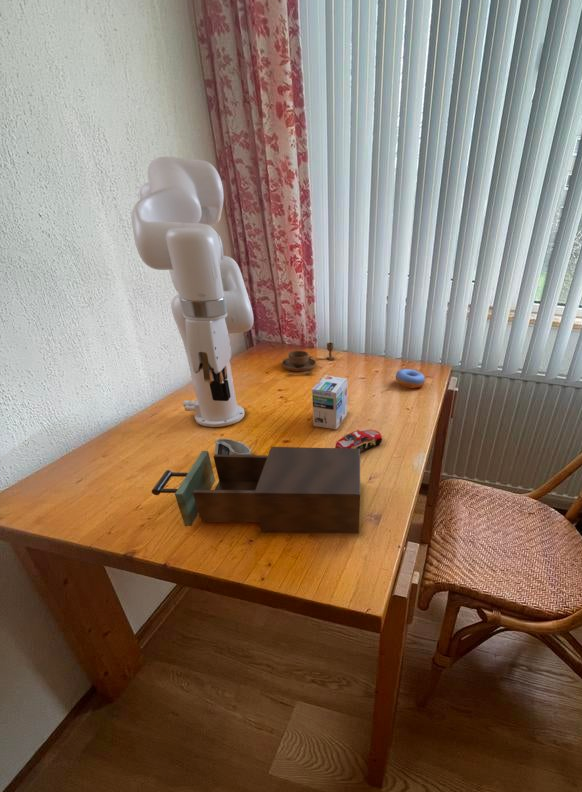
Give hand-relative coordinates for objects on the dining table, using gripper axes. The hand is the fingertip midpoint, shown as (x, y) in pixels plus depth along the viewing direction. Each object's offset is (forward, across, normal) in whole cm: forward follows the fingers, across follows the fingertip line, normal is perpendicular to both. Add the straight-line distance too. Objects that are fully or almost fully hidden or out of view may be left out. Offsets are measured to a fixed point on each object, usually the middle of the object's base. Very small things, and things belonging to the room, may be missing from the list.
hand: (221, 398), depth 80 cm
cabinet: (+14, +17, +20) cm, 30 cm away
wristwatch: (+15, 0, 0) cm, 15 cm away
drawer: (+14, +17, +3) cm, 22 cm away
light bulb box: (+15, -20, +21) cm, 33 cm away
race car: (+15, -6, +29) cm, 33 cm away
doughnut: (+15, -47, +46) cm, 68 cm away
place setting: (+16, -61, +11) cm, 64 cm away
